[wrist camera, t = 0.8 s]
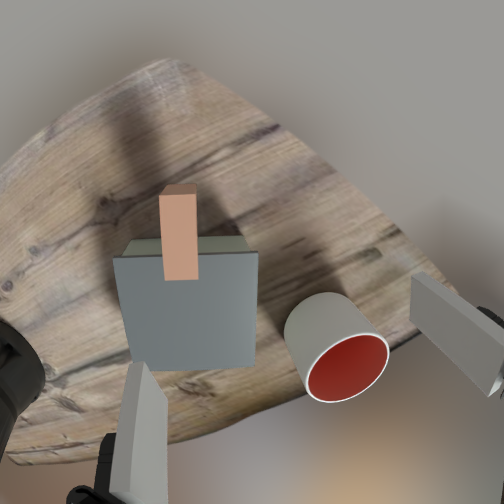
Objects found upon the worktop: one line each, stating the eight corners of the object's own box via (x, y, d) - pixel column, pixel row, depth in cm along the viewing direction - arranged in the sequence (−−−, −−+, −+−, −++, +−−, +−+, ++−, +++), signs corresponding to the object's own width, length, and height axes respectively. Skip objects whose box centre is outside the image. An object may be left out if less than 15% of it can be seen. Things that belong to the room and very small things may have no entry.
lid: (136, 362, 30) (129, 403, 24) (110, 186, 24) (85, 200, 18) (252, 358, 32) (263, 397, 27) (257, 181, 26) (274, 193, 20)
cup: (273, 303, 36) (298, 354, 27) (348, 277, 37) (390, 318, 28) (289, 361, 40) (311, 413, 31) (354, 337, 41) (388, 381, 32)
